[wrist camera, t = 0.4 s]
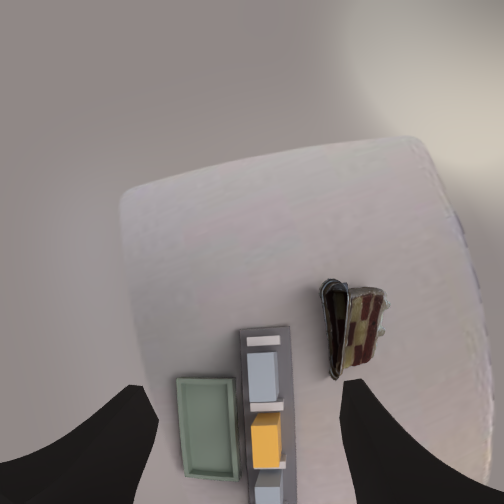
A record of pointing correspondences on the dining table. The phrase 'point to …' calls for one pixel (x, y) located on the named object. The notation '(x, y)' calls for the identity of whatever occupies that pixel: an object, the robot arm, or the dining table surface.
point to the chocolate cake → (352, 323)
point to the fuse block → (272, 404)
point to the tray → (209, 428)
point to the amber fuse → (266, 440)
